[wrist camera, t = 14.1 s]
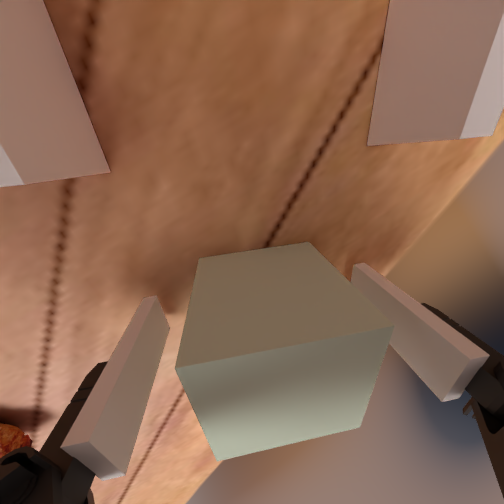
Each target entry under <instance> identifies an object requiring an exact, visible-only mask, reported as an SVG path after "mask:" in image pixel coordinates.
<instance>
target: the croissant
mask: <svg viewBox="0 0 504 504" xmlns="http://www.w3.org/2000/svg"><path fill="white" fill-rule="evenodd" d="M24 434H25V433H24V432H22V431H21V429H20V428H19V427H16V426H13V425H9V424H1V423H0V458H1V457H3V456H4V455H6V454H8V453H9V452H11V451H13V450H15V449H17V448H21V447H24V446H28V447H31V445H32V440H31V439H30V438H29V436H28V434H27V435H24Z"/></svg>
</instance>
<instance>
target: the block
mask: <svg viewBox="0 0 504 504" xmlns="http://www.w3.org/2000/svg"><path fill="white" fill-rule="evenodd" d="M394 327H395V325H394V324H393V323H392V322H391V321H390V320H389V319H388V318H387V317H385V316H384V315H383V314H382V313H381V312H380V311H379V310H378V309H377V308H376V307H375V306H374V305H373V304H372V303H371V302H370V301H369V300H368V299H367V298H366V297H365V296H364V295H363V294H362V293H361V292H360V291H359V290H358V289H357V288H356V287H355V286H354V285H353V284H352V283H351V282H350V281H349V280H348V279H346V278H345V277H344V276H343V275H342V274H341V273H340V272H339V271H338V270H337V269H336V268H335V267H334V266H333V265H332V264H331V263H330V262H329V261H328V260H327V259H326V258H325V257H324V256H323V255H322V254H321V253H320V252H319V251H318V250H317V249H316V248H315V247H314V246H313V245H312V244H311V243H310V242H303V243H297V244H290V245H283V246H277V247H270V248H263V249H257V250H250V251H243V252H236V253H230V254H223V255H216V256H210V257H203V258H199V261H198V265H197V270H196V274H195V279H194V284H193V288H192V293H191V297H190V302H189V306H188V311H187V315H186V320H185V324H184V329H183V334H182V338H181V343H180V347H179V352H178V356H177V361H176V365H175V370H176V372H177V374H178V377H179V379H180V381H181V383H182V385H183V388H184V390H185V392H186V394H187V396H188V399H189V401H190V403H191V405H192V407H193V410H194V412H195V414H196V416H197V418H198V421H199V423H200V425H201V427H202V429H203V432H204V434H205V436H206V438H207V440H208V443H209V445H210V447H211V449H212V451H213V454H214V456H215V458H216V460H217V461H221V460H225V459H229V458H233V457H237V456H241V455H246V454H250V453H254V452H258V451H262V450H267V449H271V448H275V447H279V446H283V445H287V444H292V443H295V442H299V441H304V440H309V439H313V438H317V437H321V436H325V435H329V434H334V433H338V432H341V431H346V430H350V429H355V428H359V427H360V426H361V423H362V420H363V417H364V414H365V411H366V408H367V405H368V402H369V399H370V397H371V394H372V391H373V388H374V385H375V382H376V379H377V376H378V373H379V370H380V367H381V364H382V361H383V359H384V356H385V353H386V350H387V347H388V344H389V341H390V338H391V335H392V332H393V329H394Z"/></svg>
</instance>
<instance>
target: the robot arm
mask: <svg viewBox="0 0 504 504" xmlns="http://www.w3.org/2000/svg"><path fill="white" fill-rule="evenodd" d="M351 283H352V284H353V285H354V286H355V287H356V288H357V289H358V290H359V291H360V292H361V293H362V294H363V295H364V296H365V297H366V298H367V299H368V300H369V301H370V302H371V303H372V304H373V305H374V306H375V307H376V308H377V309H378V310H379V311H380V312H381V313H382V314H383V315H384V316H385V317H387V318H388V319H389V320H390V321H391V322H392V323H393V324H394V325H395V327H394V329H393V332H392V335H391V338H390V341H389V344H390V345H391V346H392V347H393V348H394V349H395V350H396V351H397V353H398V354H399V355H400V356H401V357H402V358H403V359H404V360H405V361H406V363H407V364H408V365H409V366H410V367H411V368H412V369H413V370H414V371H415V372H416V374H417V375H418V376H419V377H420V378H421V379H422V380H423V381H424V382H425V384H426V385H427V386H428V387H429V388H430V389H431V390H432V391H433V393H434V394H435V395H436V396H437V397H438V398H439V399H440V400H441V401H442V402H444V401H448V400H453V399H457V398H459V397H460V396H461V394H462V393H463V391H464V390H466V391H467V392H468V393H469V394H470V395H471V396H472V397H471V399H470V400H469V401H468V403H467V404H466V405H465V407H464V408H463V414H464V415H468V413H469V412H470V411H471V410H472V409H473V412H474V414H473V416H472V418H474V419H476V420H477V423H478V426H479V429H480V432H481V434H482V438H483V440H484V443H485V446H486V449H487V452H488V455H489V458H490V460H491V463H492V466H493V469H494V472H495V475H496V478H497V481H498V483H499V486H500V489H501V492H502V494H503V498H504V356H503V355H502V354H500V353H499V352H497V351H496V350H494V349H493V348H492V347H490V346H489V345H487V344H486V343H485V342H483V341H482V340H480V339H479V338H477V337H476V336H475V335H473V334H472V333H470V332H469V331H467V330H466V329H465V328H463V327H462V326H459V324H458V323H456V322H455V321H453V320H452V319H449V317H448V316H446V315H445V314H443V313H442V312H441V311H439V310H438V309H435V308H434V307H431V306H429V305H427V304H425V303H422V304H420V303H419V302H417V301H416V300H415V299H413V298H412V297H410V296H409V295H408V294H406V293H405V292H404V291H402V290H401V289H400V288H398V287H397V286H396V285H394V284H393V283H391V282H390V281H389V280H387V279H386V278H385V277H383V276H382V275H381V274H379V273H378V272H377V271H375V270H374V269H373V268H371V267H370V266H368V265H367V264H366V263H359V264H354V265H353V270H352V276H351ZM169 330H170V327H169V324H168V322H167V319H166V317H165V314H164V312H163V309H162V307H161V305H160V302H159V300H158V297H157V295H156V296H150V297H144V298H143V300H142V301H141V303H140V305H139V307H138V309H137V310H136V312H135V314H134V316H133V318H132V319H131V321H130V323H129V325H128V327H127V328H126V330H125V332H124V334H123V336H122V337H121V339H120V341H119V343H118V345H117V346H116V348H115V350H114V352H113V353H112V355H111V357H110V359H109V361H107V362H102V363H98V364H97V365H96V366H95V367H94V368H93V369H92V370H91V371H90V372H89V373H88V374H87V376H86V377H85V379H84V380H83V382H82V384H81V385H80V387H79V388H78V392H76V393H75V395H74V397H73V398H72V400H71V403H70V404H69V405H68V406H67V408H66V409H65V411H64V413H63V414H62V416H61V418H60V419H59V421H58V422H57V424H56V426H55V427H54V429H53V430H52V432H51V434H50V435H49V437H48V439H47V440H46V442H45V443H44V445H43V447H42V448H41V450H40V451H39V452H38V451H36V450H35V449H34V448H31V447H28V446H24V447H21V448H17V449H15V450H13V451H11V452H9V453H8V454H6V455H4V456H3V457H1V458H0V504H95V503H94V497H93V493H92V491H91V489H90V487H91V484H92V482H93V479H94V477H95V475H96V476H97V477H98V478H100V479H101V480H102V481H104V480H108V479H113V478H117V477H121V476H125V475H126V472H127V468H128V465H129V462H130V458H131V455H132V452H133V449H134V445H135V442H136V439H137V435H138V432H139V429H140V425H141V422H142V419H143V415H144V412H145V409H146V406H147V402H148V399H149V396H150V392H151V389H152V386H153V382H154V379H155V376H156V373H157V369H158V366H159V363H160V359H161V356H162V353H163V349H164V346H165V343H166V340H167V336H168V333H169Z"/></svg>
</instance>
